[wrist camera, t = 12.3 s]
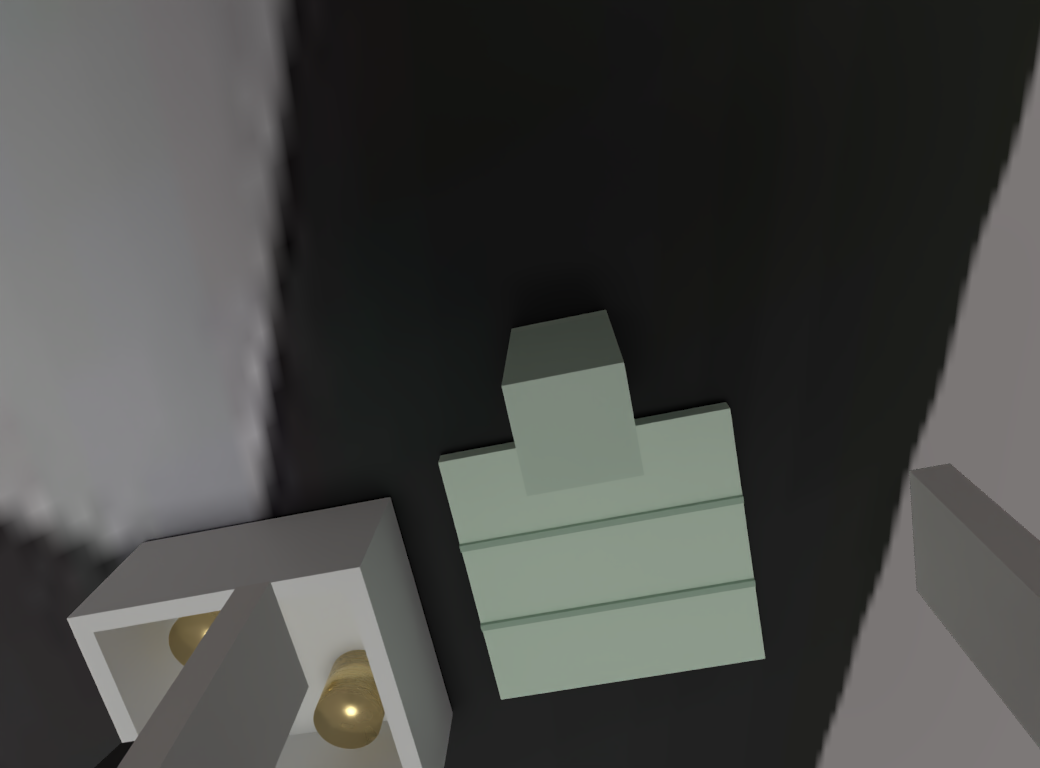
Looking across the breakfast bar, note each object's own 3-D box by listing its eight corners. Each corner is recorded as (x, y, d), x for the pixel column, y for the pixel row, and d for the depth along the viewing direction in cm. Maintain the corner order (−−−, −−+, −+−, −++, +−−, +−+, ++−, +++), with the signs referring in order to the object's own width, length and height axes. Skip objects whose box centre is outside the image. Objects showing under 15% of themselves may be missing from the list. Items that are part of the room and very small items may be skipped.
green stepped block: (412, 348, 33) (373, 410, 26) (709, 288, 32) (759, 336, 24) (502, 688, 38) (491, 822, 31) (760, 647, 37) (814, 777, 30)
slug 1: (189, 581, 36) (158, 620, 33) (250, 570, 36) (225, 608, 33) (210, 636, 37) (182, 678, 34) (270, 626, 36) (247, 667, 34)
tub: (142, 542, 36) (66, 618, 31) (390, 497, 35) (359, 566, 29) (224, 748, 40) (170, 851, 34) (452, 713, 39) (436, 813, 33)
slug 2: (323, 655, 37) (304, 698, 34) (384, 644, 37) (370, 688, 34) (341, 706, 38) (324, 753, 35) (400, 697, 37) (388, 743, 35)
